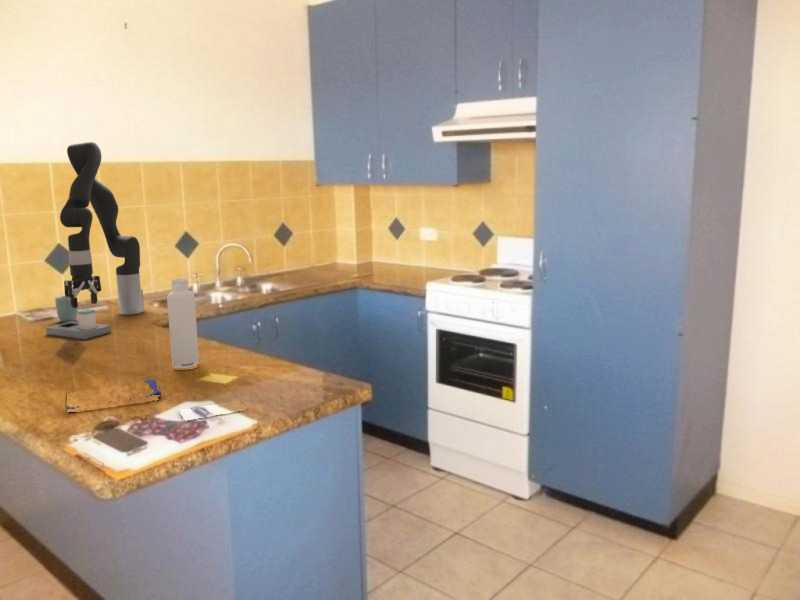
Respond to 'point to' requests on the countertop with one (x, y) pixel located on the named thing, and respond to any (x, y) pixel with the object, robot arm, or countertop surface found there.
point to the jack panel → (77, 331)
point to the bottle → (182, 325)
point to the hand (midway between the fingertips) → (84, 305)
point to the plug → (87, 319)
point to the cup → (65, 309)
